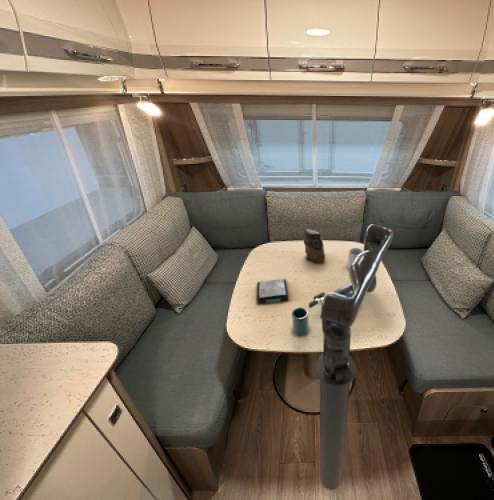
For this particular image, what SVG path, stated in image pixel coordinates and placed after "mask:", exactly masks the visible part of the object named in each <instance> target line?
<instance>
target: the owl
mask: <svg viewBox="0 0 494 500" xmlns="http://www.w3.org/2000/svg"><path fill="white" fill-rule="evenodd" d="M303 230H304V239H303V244H304V252H305V254H306V257H305V259H306V260H307V261H308V262H309V261H310V263H313V264H324V263H325V255H326V254H325V249H324V248H325V245H324V242H323V237H322V234H321V233H319V232H318V231H317V230H314V229H309V228H306V227H304V229H303Z"/></svg>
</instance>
